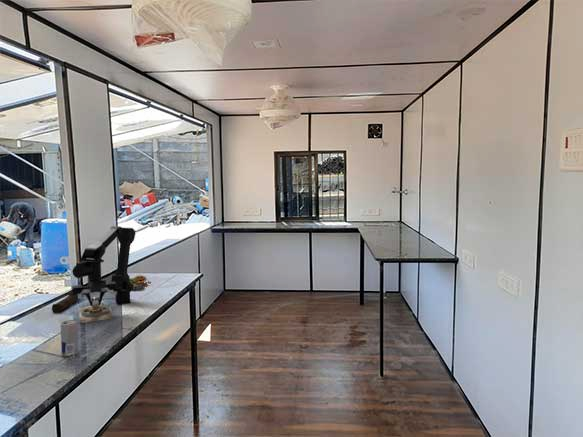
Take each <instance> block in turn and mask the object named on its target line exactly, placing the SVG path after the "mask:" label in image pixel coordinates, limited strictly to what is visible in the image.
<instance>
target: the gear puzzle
mask: <svg viewBox="0 0 583 437" xmlns="http://www.w3.org/2000/svg"><path fill="white" fill-rule="evenodd" d="M144 279H145V280H144ZM146 279H147V277H146V276H144V275H136V276H134V277H133V278H130V283H131V284H132V285H133V290H132V291H131V292H135V291H136V292H142V291H144V290H146V287H145V286H148V287H149V284H152V282H151V281H150V280H147V281H148V282H145V281H146ZM140 280H142V281H140ZM149 281H150V282H149ZM144 282H145V283H144ZM147 283H148V284H147ZM144 287H145V288H144Z"/></svg>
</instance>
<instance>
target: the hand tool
mask: <svg viewBox="0 0 583 437" xmlns="http://www.w3.org/2000/svg"><path fill="white" fill-rule="evenodd" d="M78 300H79V294H72V291H71V292H69V293H68V295H67V297H65V298H63V299H62V300H60V301H58V302H56V303H53V304H52V306H51V312H53V314H54V313H55V314H58V313H62V312H63V311H64V310H65V309H66V308H67V307H69V306H70V305H71V304H74V303H77V302H78Z"/></svg>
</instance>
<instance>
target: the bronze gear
mask: <svg viewBox="0 0 583 437" xmlns="http://www.w3.org/2000/svg"><path fill="white" fill-rule="evenodd" d="M91 302H92V307H88V306H87V307H88V309H86V311H87V312H88V311H89V313H91V312H95V313H97V312H99V311H103V309H105V306H103V307H102V305H100V306H99V296H94V297H91Z"/></svg>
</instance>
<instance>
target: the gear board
mask: <svg viewBox="0 0 583 437" xmlns="http://www.w3.org/2000/svg"><path fill="white" fill-rule="evenodd" d="M100 305H102V307H103V306H105V309H103V311H99V312H97V313H95V312H91V313H89V311H88V312H87V311H86V309H88V307H92V306H91V305H89V306H82V307H80V306H79V307H77V311H78V320H79V321H78V322H79V324H83V323H89V322H96V321H102V320H103V321H104V320H109V319H111V320H112V319H114V318H115V315H114V313H113V310H112V307H111V305H110V303H108V302H103V301H101V304H100ZM100 305H99V306H100Z"/></svg>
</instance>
